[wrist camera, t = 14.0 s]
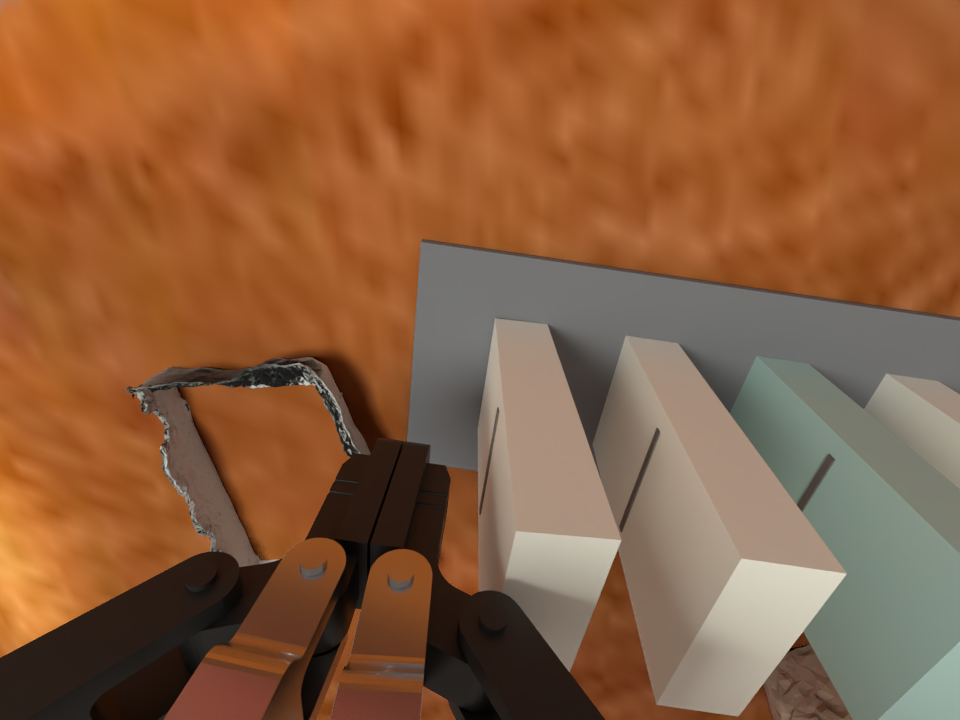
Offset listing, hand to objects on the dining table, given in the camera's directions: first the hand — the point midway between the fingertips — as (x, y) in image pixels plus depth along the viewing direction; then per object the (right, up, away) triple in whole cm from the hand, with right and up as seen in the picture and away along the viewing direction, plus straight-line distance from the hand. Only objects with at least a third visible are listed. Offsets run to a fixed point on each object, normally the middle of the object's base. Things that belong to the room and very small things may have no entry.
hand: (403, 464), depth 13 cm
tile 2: (+8, +2, +5) cm, 10 cm away
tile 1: (+3, +2, +5) cm, 7 cm away
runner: (+13, +1, +6) cm, 15 cm away
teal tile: (+13, +1, +6) cm, 14 cm away
